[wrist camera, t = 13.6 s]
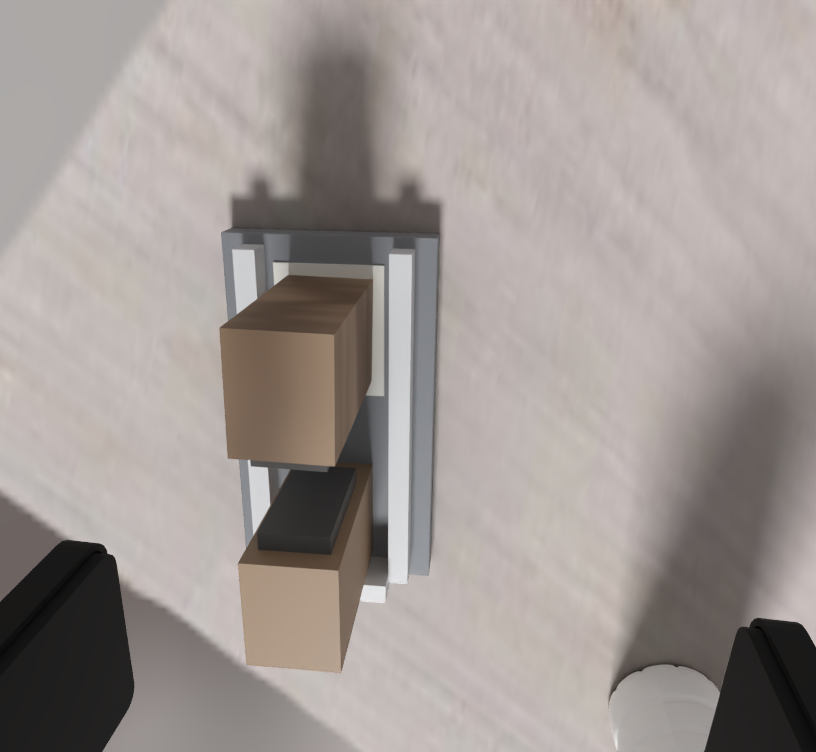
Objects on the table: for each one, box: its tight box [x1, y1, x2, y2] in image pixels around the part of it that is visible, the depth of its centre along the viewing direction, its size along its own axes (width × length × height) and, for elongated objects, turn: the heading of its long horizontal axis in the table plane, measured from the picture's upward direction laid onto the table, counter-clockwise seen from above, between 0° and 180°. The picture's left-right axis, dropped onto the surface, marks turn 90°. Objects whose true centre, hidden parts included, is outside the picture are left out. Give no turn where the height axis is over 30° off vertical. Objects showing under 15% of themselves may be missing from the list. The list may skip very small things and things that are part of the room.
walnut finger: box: [220, 275, 373, 472], centre depth 29 cm, size 4×6×9 cm
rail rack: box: [221, 228, 439, 673], centre depth 31 cm, size 18×10×10 cm, turn 179°
